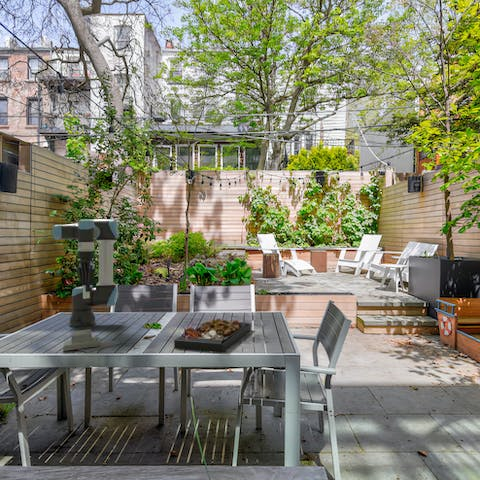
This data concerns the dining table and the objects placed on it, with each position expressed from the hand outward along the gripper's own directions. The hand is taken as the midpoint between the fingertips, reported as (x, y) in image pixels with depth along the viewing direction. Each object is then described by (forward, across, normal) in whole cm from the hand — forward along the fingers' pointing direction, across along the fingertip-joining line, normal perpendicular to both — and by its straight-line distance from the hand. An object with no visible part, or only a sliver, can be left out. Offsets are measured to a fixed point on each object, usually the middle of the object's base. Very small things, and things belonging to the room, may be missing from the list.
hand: (86, 298), depth 183 cm
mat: (+22, +10, 0) cm, 25 cm away
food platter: (+23, +48, +43) cm, 69 cm away
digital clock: (+19, 0, -3) cm, 19 cm away
